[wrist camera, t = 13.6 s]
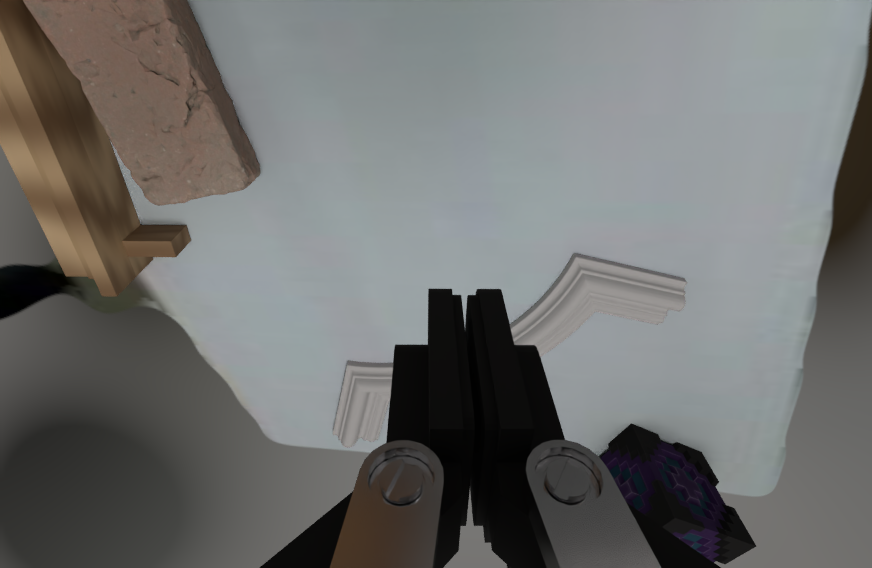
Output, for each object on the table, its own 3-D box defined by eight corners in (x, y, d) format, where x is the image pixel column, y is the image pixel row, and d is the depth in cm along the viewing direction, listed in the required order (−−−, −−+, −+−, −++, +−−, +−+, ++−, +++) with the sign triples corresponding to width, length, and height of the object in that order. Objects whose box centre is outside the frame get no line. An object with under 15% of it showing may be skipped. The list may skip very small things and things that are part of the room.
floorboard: (-101, -151, 27) (-218, -181, 22) (72, -147, 28) (-6, -174, 23) (87, 258, 43) (42, 296, 38) (196, 259, 43) (166, 296, 38)
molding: (353, 442, 59) (350, 462, 57) (290, 384, 53) (284, 404, 51) (690, 302, 48) (704, 320, 45) (658, 209, 42) (673, 224, 39)
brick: (268, 173, 39) (250, 194, 35) (176, 193, 40) (148, 216, 36) (165, -68, 30) (126, -76, 26) (49, -35, 31) (-5, -38, 27)
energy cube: (701, 451, 60) (756, 546, 50) (637, 499, 66) (675, 592, 56) (631, 423, 57) (675, 518, 47) (570, 475, 63) (598, 570, 53)
